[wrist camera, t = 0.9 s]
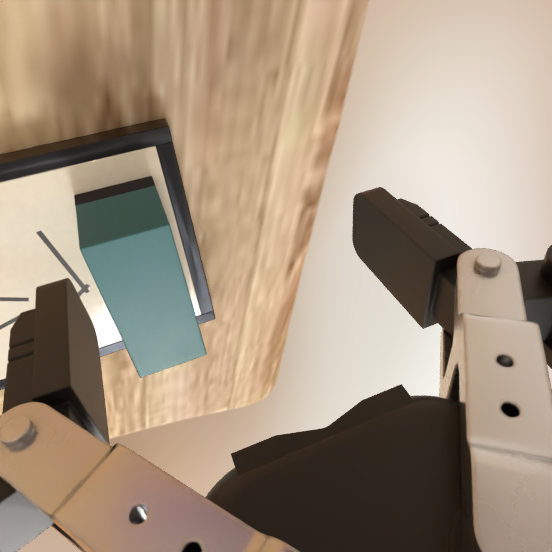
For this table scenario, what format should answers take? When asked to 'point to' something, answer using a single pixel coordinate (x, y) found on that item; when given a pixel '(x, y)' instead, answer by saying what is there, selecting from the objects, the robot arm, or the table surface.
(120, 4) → the table surface
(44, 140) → the table surface
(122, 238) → the eraser
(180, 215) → the whiteboard
